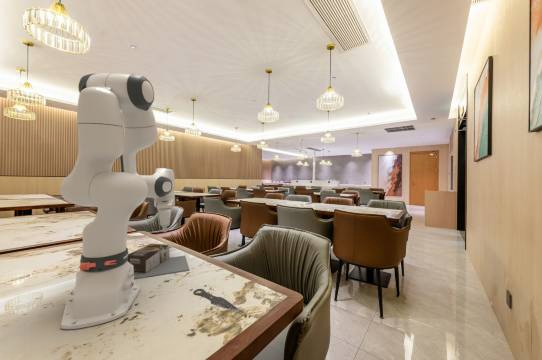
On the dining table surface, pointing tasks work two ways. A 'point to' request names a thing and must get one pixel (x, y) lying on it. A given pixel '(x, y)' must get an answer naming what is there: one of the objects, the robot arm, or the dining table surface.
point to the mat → (166, 267)
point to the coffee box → (148, 257)
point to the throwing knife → (216, 300)
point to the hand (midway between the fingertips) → (164, 231)
